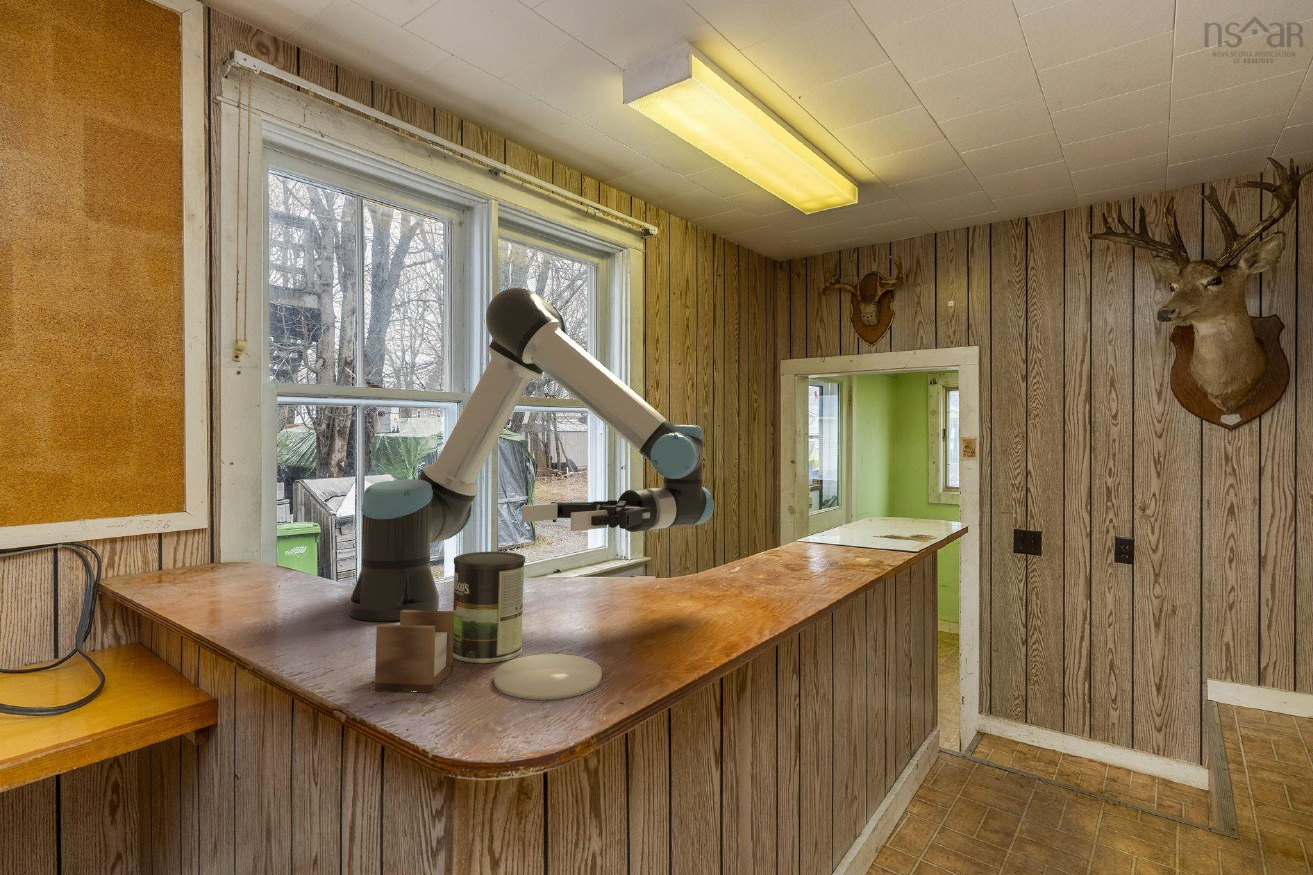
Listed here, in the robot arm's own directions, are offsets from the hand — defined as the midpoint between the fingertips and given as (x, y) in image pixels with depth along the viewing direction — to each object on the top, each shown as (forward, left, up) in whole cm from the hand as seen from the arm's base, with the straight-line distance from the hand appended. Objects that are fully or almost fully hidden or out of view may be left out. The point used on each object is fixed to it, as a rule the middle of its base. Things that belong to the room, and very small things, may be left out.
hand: (546, 517), depth 103 cm
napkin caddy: (-13, -19, -19) cm, 30 cm away
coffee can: (-7, -7, -20) cm, 22 cm away
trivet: (+4, -17, -19) cm, 26 cm away
